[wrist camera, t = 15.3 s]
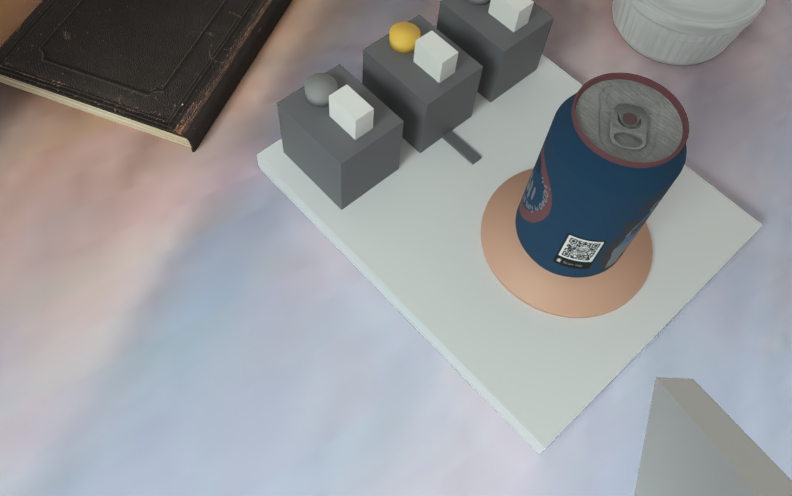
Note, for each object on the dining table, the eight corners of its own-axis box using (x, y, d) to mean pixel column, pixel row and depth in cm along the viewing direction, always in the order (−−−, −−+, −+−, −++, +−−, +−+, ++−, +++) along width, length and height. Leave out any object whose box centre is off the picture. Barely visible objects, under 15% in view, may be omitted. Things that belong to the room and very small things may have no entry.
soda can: (518, 182, 46) (568, 50, 36) (622, 205, 46) (702, 79, 36) (503, 272, 43) (553, 156, 33) (614, 298, 43) (701, 189, 32)
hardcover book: (-3, 88, 51) (-18, 65, 49) (157, -96, 62) (150, -120, 60) (196, 157, 49) (189, 136, 47) (325, -45, 60) (324, -68, 58)
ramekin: (735, -6, 60) (767, -59, 55) (736, 91, 54) (772, 41, 50) (605, -32, 60) (627, -87, 56) (594, 60, 55) (616, 8, 50)
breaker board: (258, 167, 48) (243, 84, 41) (480, 22, 56) (499, -68, 49) (538, 454, 40) (581, 414, 33) (751, 236, 48) (823, 165, 41)
